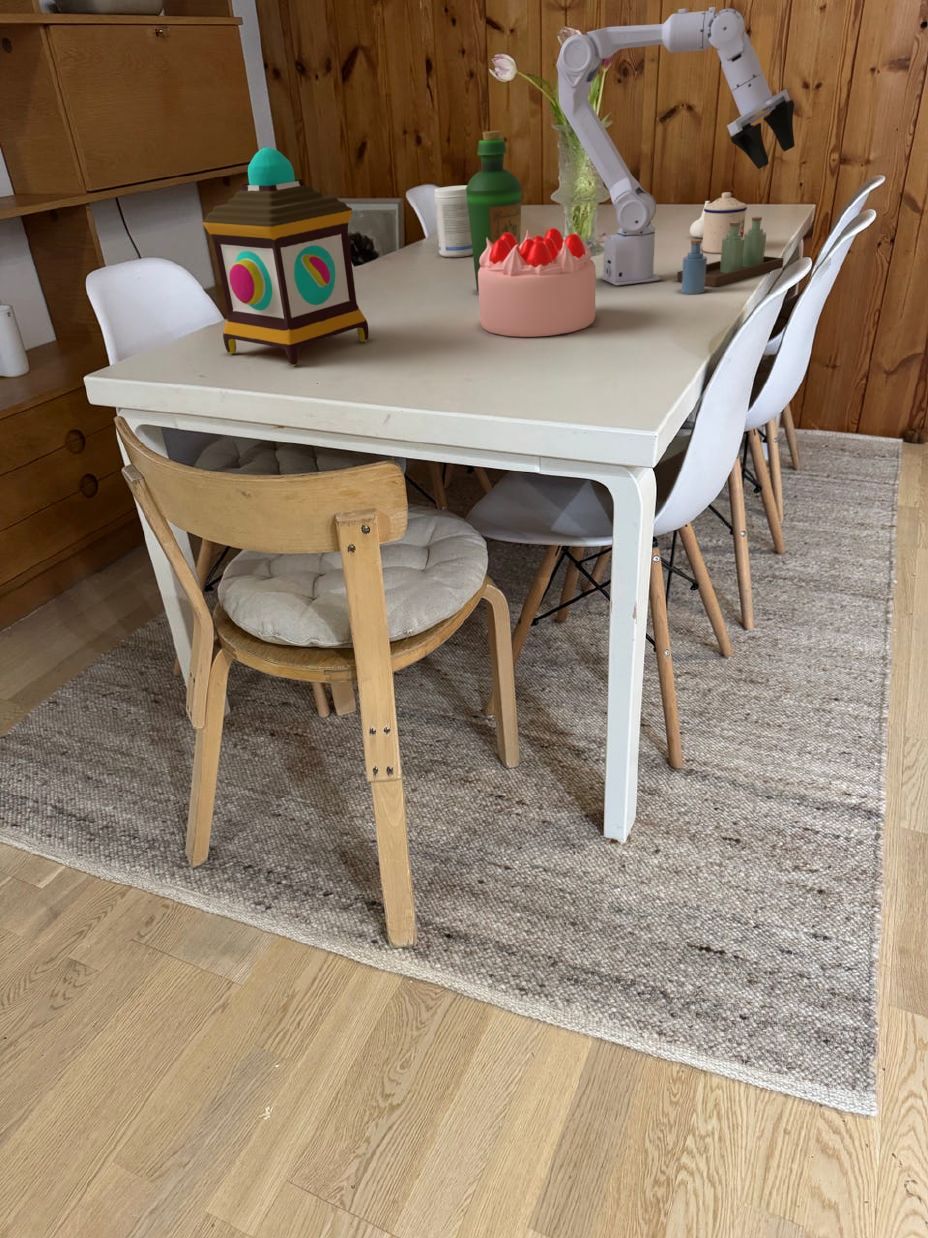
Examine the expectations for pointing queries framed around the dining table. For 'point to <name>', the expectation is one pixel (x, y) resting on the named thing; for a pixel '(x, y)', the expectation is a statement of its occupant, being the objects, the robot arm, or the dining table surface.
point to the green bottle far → (754, 244)
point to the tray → (736, 272)
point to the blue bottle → (694, 270)
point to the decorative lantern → (284, 261)
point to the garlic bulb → (699, 225)
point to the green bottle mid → (732, 250)
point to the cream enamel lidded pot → (721, 221)
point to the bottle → (492, 198)
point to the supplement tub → (453, 221)
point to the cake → (536, 285)
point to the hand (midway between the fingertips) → (776, 157)
